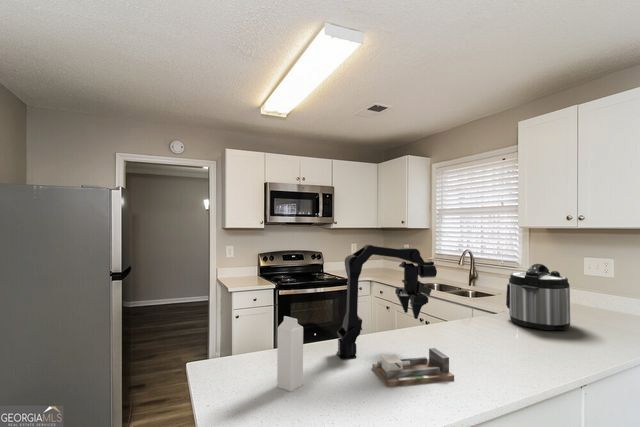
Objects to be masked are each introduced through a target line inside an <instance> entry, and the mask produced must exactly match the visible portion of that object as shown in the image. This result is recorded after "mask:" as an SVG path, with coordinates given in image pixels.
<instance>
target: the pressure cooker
mask: <svg viewBox="0 0 640 427" xmlns="http://www.w3.org/2000/svg"><path fill="white" fill-rule="evenodd" d="M570 288H571V287H570V283H569V278H568V277H565V276H562V275H561V274H560V272H559V271H557V270H552V271H550V269H549V268H548V267H547V266H546V265H545V264H541V263H534V264H532V265H531V266H530V267H529V268H528V269H527V270H526V272H525V271H524V272H513V273H510V278H508V283H506V295H505V296H506V297H505V298H506V304H505V305H506V307H507V309H509V310H508V311H509V318H510V320H511V321H512V322H513V323H515V324H518V325H520V326H524V327H528V328H534V329H537V330H538V329H539V330H545V331H554V330H558V331H564V330H567V329H568V328H570V325H571V292H570V291H571V290H570Z"/></svg>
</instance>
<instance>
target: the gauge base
mask: <svg viewBox="0 0 640 427" xmlns="http://www.w3.org/2000/svg"><path fill="white" fill-rule="evenodd" d="M399 359H400V358H399ZM400 360H401V361H410V366H403V370H398V371H387V373H386V371H385V370H384V369H383V368H382V360H377V363H372V366H371V369H372V370H373V371H374V373H376V375H378V377H379V378H380V379H381V380H382V381H383V383H384V384H385V386H387V387H397V386H398V387H399V386H407V385H418V384H419V385H420V384H427V383H438V382H447V381H455V374H453V373H451V372H450V357H449V356H447V355H446V354H444V353H443V352H442V351H440V350H439V349H437V348H435V347H432V348H429V349H428V358H427V357H425V356H423V357H413V358H412V357H411V358H401V359H400Z"/></svg>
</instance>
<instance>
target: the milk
mask: <svg viewBox="0 0 640 427" xmlns="http://www.w3.org/2000/svg"><path fill="white" fill-rule="evenodd" d="M276 352H277V362H276V365H277V369H276V370H277V372H276V377H277V378H276V384H277V385H276V386H277V387H278V388H281V389H284V390H285V391H288V392H290V393H291V392H293V391H294V390H296V389H298V388H300V387H301V386H303V385H304V381H303V380H304V326H302V325H301V324H299V323H298V318H295V317H290V316H286V315H284V316H283V321H282V322H281V323H280V324H279V325H278V327H277V351H276Z"/></svg>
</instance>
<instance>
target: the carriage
mask: <svg viewBox="0 0 640 427" xmlns="http://www.w3.org/2000/svg"><path fill="white" fill-rule="evenodd" d="M381 361H382V368H383V369H384V370H385V371H386V373H387V371H398V370H403V366H410V361H401V360H400V358H399V357H398V356H397V355H396V354H388V355H387V354H386V355H381Z"/></svg>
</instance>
